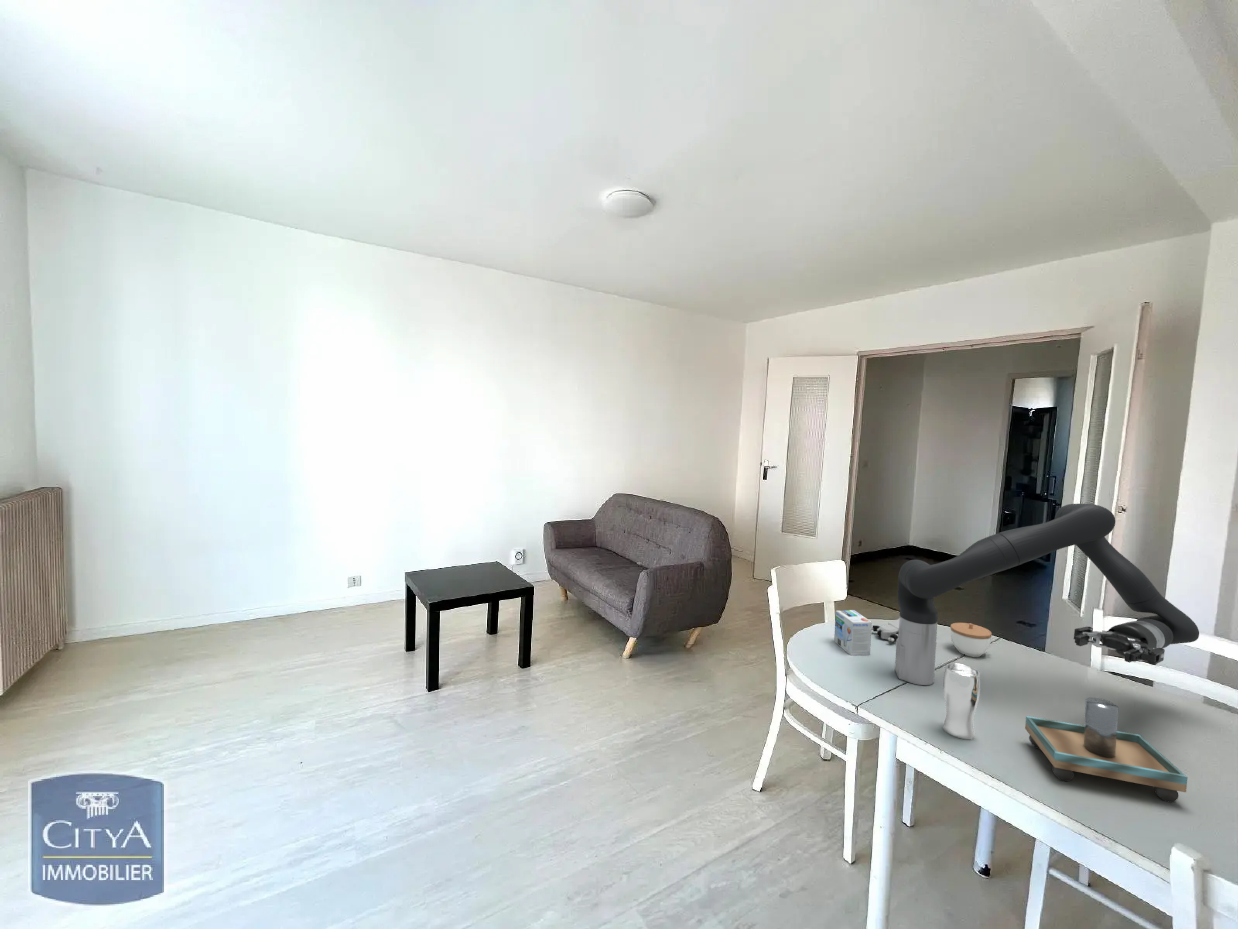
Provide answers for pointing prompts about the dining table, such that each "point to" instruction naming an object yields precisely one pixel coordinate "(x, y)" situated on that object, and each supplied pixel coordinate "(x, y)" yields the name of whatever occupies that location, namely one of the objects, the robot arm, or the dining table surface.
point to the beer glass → (961, 699)
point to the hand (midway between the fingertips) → (1101, 649)
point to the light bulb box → (853, 632)
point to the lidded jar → (970, 639)
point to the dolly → (1129, 763)
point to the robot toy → (888, 630)
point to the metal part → (1100, 727)
